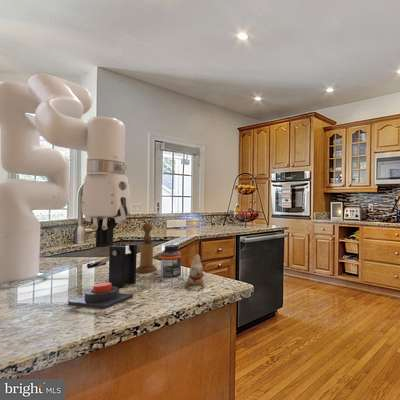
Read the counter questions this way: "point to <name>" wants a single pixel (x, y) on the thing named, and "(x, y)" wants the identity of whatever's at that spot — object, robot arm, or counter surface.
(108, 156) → the robot arm
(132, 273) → the bracket
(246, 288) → the counter surface
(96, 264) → the lever
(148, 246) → the brown chess piece
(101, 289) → the button
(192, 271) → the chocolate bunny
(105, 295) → the button box
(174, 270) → the supplement bottle
